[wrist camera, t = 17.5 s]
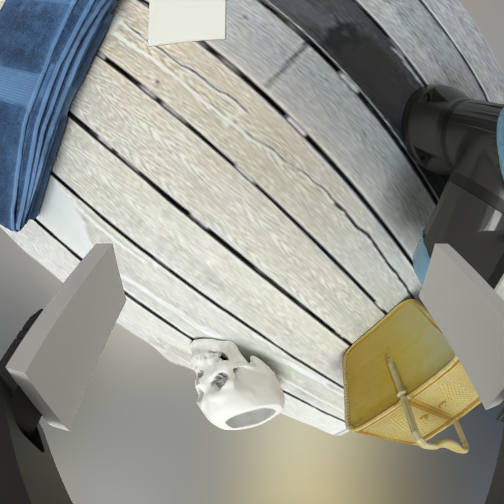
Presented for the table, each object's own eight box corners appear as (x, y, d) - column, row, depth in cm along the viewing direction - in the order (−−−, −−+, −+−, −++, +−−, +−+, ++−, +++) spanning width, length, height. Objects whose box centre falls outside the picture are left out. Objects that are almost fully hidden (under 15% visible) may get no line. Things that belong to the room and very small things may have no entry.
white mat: (226, -24, 29) (225, -25, 29) (225, 39, 34) (224, 38, 34) (151, -15, 29) (150, -16, 29) (149, 46, 34) (148, 46, 34)
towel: (136, -6, 30) (110, -27, 21) (48, 221, 47) (17, 246, 38) (38, -23, 24) (5, -34, 15) (-26, 176, 42) (-58, 193, 33)
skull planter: (202, 320, 55) (237, 415, 43) (270, 331, 69) (305, 403, 57) (166, 355, 60) (192, 439, 48) (233, 360, 74) (261, 427, 62)
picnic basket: (464, 331, 63) (516, 418, 36) (392, 389, 72) (422, 480, 46) (414, 277, 54) (490, 395, 28) (324, 356, 64) (352, 480, 37)
